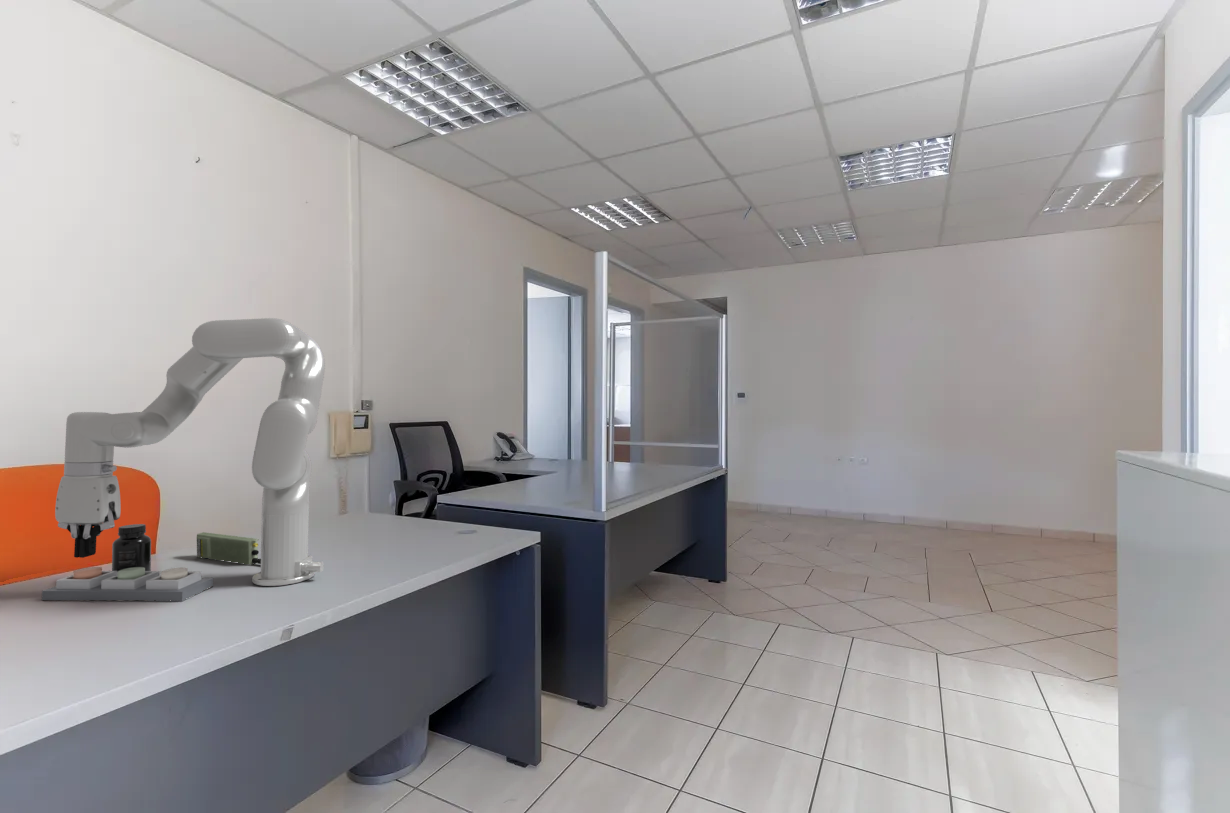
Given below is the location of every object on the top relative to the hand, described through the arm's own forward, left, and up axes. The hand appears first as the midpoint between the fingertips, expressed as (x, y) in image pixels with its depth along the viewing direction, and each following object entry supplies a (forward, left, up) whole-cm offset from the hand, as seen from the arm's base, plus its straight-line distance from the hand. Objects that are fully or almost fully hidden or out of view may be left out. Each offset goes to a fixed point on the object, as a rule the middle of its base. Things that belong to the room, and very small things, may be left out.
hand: (85, 555), depth 116 cm
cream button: (-19, 0, -5) cm, 19 cm away
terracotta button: (-1, 0, -5) cm, 5 cm away
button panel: (-10, 0, -8) cm, 12 cm away
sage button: (-10, 0, -5) cm, 11 cm away
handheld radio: (-15, -25, -9) cm, 30 cm away
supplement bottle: (-1, -11, -8) cm, 14 cm away
